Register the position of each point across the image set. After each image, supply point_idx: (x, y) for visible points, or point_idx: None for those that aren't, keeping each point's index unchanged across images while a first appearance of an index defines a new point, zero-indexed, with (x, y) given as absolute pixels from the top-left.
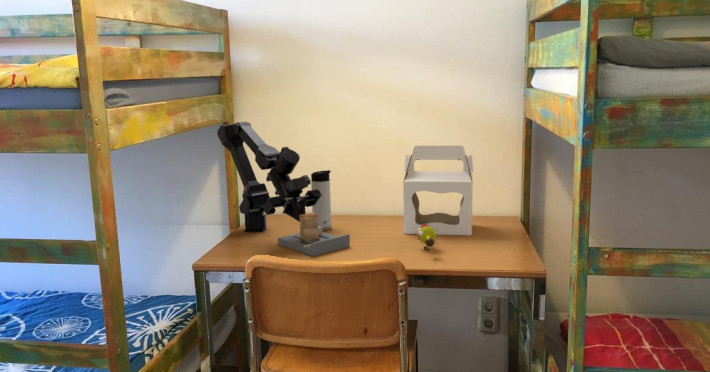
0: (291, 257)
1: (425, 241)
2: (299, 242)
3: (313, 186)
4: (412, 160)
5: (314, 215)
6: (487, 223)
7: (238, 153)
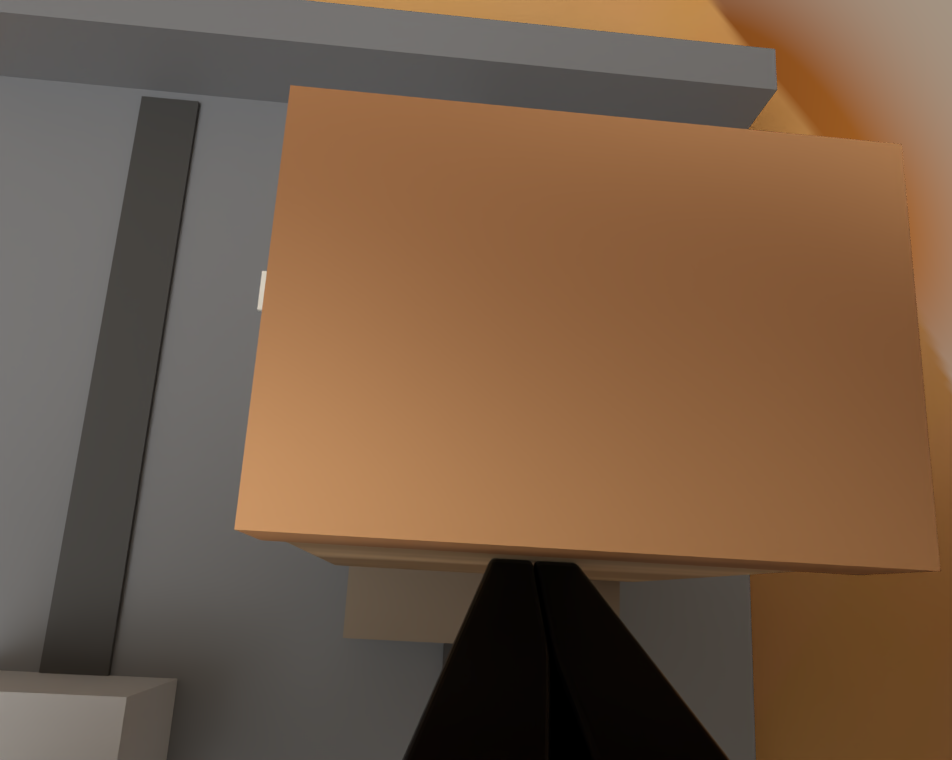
0: (926, 351)
1: None
2: (643, 583)
3: None
4: None
5: (458, 114)
6: None
7: None
